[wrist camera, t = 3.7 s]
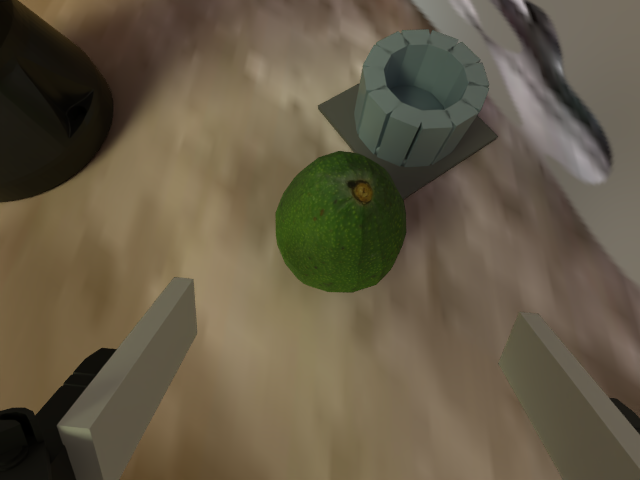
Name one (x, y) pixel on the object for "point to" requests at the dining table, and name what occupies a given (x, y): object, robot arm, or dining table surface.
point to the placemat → (404, 178)
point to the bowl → (418, 97)
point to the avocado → (341, 223)
